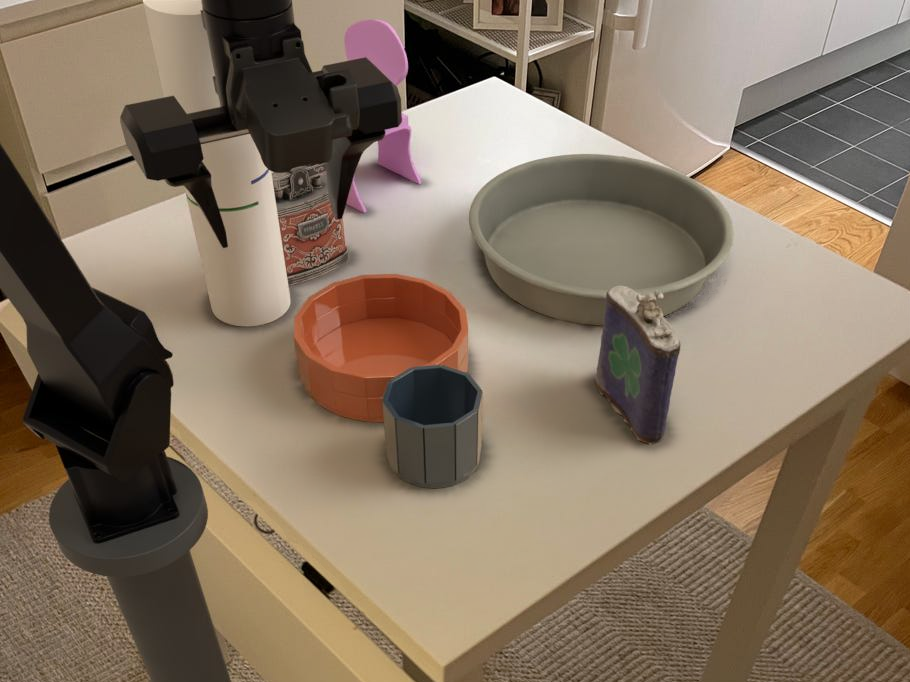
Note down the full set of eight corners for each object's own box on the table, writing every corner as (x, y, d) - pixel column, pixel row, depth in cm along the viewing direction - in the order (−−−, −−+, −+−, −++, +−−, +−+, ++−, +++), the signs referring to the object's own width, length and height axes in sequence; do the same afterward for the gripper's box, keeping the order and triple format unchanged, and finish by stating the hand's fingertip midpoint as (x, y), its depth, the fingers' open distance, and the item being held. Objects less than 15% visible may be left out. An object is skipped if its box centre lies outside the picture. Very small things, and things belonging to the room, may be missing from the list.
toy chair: (312, 189, 103) (293, 30, 91) (373, 159, 107) (362, 3, 95) (367, 219, 100) (355, 58, 88) (428, 186, 104) (425, 29, 92)
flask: (589, 380, 85) (604, 266, 76) (619, 372, 85) (637, 258, 77) (642, 448, 79) (665, 334, 71) (674, 439, 80) (700, 324, 72)
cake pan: (579, 372, 85) (584, 327, 82) (418, 243, 97) (417, 199, 94) (778, 279, 94) (791, 235, 91) (609, 172, 106) (614, 129, 103)
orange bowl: (339, 442, 79) (333, 397, 76) (276, 344, 87) (268, 299, 83) (496, 392, 83) (497, 346, 80) (423, 303, 91) (421, 258, 87)
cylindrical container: (306, 296, 91) (264, -11, 72) (255, 335, 88) (197, 23, 68) (246, 272, 94) (189, -32, 74) (194, 309, 90) (120, -1, 70)
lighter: (284, 290, 92) (268, 185, 84) (264, 274, 93) (246, 169, 86) (356, 260, 95) (346, 157, 87) (335, 245, 97) (324, 141, 89)
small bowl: (413, 501, 75) (409, 440, 71) (373, 441, 79) (367, 380, 75) (496, 471, 77) (499, 410, 73) (453, 415, 82) (453, 354, 77)
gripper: (138, 81, 57) (195, 319, 69) (433, 24, 62) (437, 254, 74) (89, 9, 63) (150, 240, 75) (362, -37, 68) (377, 185, 80)
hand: (281, 230), depth 76 cm, fingers open, 9 cm apart
